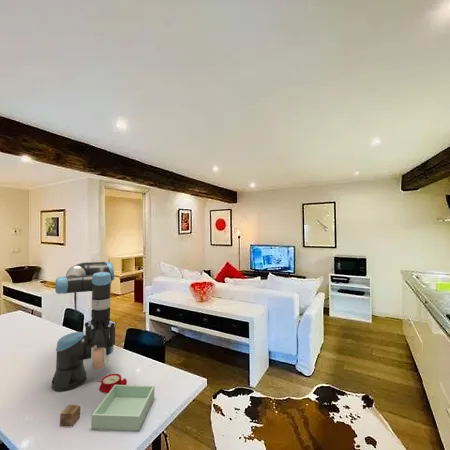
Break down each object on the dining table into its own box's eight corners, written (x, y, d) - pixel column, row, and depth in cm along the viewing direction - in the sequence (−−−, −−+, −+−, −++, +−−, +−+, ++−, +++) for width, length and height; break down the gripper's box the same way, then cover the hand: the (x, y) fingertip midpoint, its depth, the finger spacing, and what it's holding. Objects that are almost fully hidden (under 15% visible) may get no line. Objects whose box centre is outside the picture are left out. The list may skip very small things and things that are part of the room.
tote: (91, 429, 100) (91, 415, 100) (114, 397, 119) (114, 384, 119) (138, 431, 99) (139, 416, 99) (154, 398, 119) (154, 385, 119)
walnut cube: (59, 426, 101) (60, 413, 101) (68, 417, 106) (68, 404, 106) (72, 426, 101) (72, 413, 101) (79, 417, 106) (80, 405, 106)
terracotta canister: (90, 368, 110) (90, 352, 111) (96, 363, 115) (97, 347, 116) (101, 369, 110) (101, 352, 110) (107, 363, 115) (108, 347, 115)
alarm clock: (111, 371, 135) (131, 372, 128) (113, 383, 134) (133, 385, 127) (93, 381, 126) (113, 383, 119) (94, 394, 125) (115, 397, 118)
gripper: (76, 310, 111) (74, 365, 110) (116, 310, 110) (115, 366, 109) (86, 305, 119) (85, 357, 118) (124, 306, 117) (123, 358, 116)
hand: (99, 361), depth 113 cm, fingers closed on terracotta canister, 5 cm apart
